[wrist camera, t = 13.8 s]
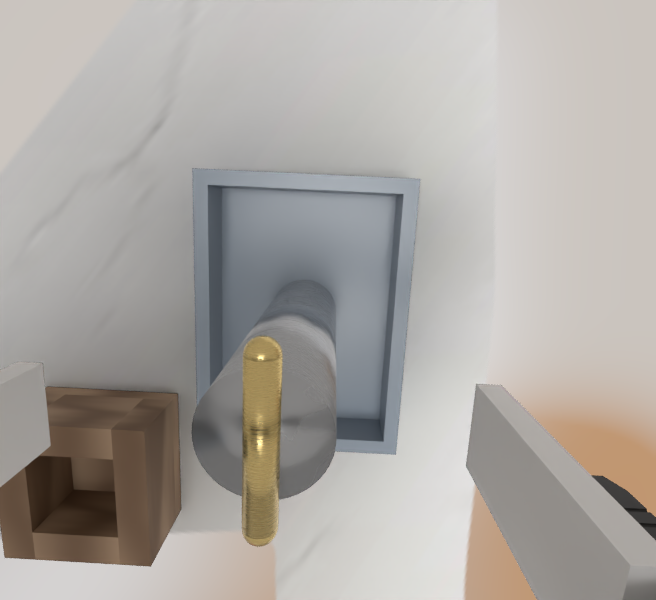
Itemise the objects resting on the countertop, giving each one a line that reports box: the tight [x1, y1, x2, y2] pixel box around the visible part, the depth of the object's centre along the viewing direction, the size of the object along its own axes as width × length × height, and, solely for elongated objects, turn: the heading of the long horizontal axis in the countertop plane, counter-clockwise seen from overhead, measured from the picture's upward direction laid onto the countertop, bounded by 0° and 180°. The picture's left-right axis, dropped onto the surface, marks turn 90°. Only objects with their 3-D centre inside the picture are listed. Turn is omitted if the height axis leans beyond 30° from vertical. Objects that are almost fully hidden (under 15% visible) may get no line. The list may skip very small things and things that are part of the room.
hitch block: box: [0, 387, 181, 566], centre depth 27 cm, size 9×9×5 cm
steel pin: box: [192, 280, 336, 547], centre depth 18 cm, size 4×6×16 cm, turn 177°
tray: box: [192, 168, 420, 455], centre depth 25 cm, size 12×16×4 cm
